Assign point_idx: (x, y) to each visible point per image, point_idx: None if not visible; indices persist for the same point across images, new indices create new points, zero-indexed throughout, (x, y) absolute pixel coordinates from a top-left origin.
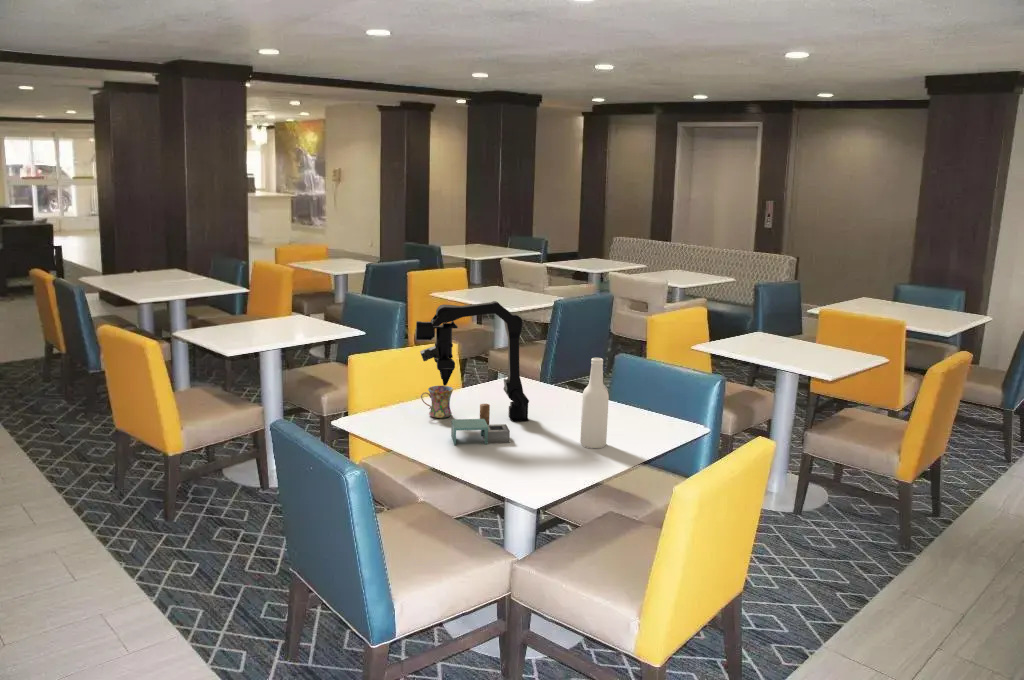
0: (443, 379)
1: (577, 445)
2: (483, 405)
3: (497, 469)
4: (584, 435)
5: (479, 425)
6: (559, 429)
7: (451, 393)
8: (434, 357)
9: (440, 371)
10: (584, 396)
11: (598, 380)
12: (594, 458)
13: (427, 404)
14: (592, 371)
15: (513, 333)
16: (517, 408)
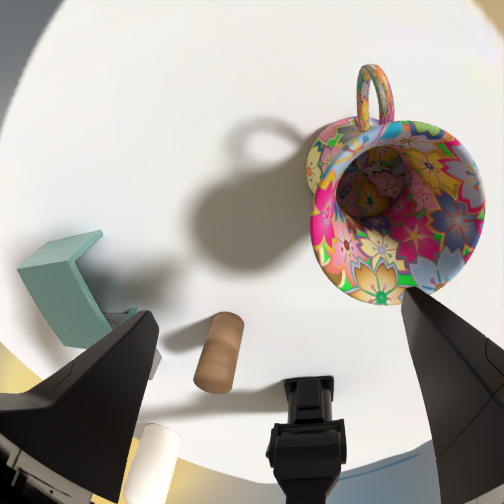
0: (97, 352)
1: (153, 420)
2: (203, 380)
3: (10, 309)
4: (142, 438)
5: (63, 330)
6: (234, 425)
7: (372, 280)
8: None
9: (8, 393)
10: (128, 490)
11: None
12: None
13: (359, 109)
14: None
15: None
16: (288, 417)
